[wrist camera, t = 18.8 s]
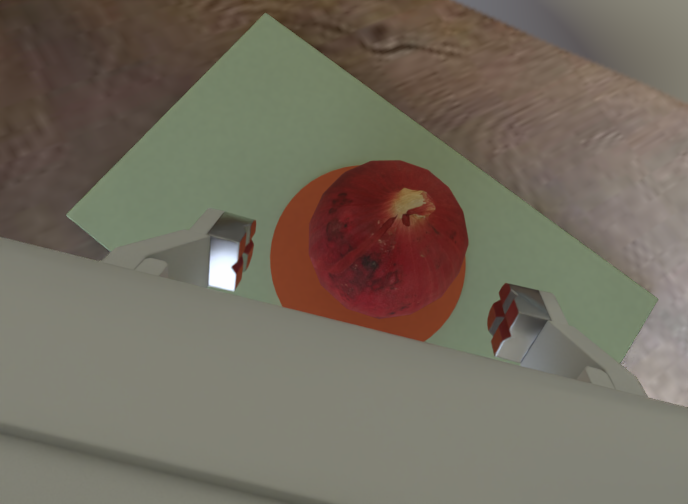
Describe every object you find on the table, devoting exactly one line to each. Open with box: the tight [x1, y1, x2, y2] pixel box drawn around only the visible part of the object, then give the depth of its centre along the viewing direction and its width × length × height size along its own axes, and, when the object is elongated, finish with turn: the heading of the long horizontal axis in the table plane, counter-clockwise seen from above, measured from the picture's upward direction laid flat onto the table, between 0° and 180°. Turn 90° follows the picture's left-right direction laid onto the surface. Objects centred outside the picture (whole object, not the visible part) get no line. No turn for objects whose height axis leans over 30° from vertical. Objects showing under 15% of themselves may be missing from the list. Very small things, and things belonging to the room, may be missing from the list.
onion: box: [309, 160, 469, 319], centre depth 16 cm, size 6×6×8 cm
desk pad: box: [66, 13, 658, 366], centre depth 21 cm, size 24×14×1 cm, turn 52°
